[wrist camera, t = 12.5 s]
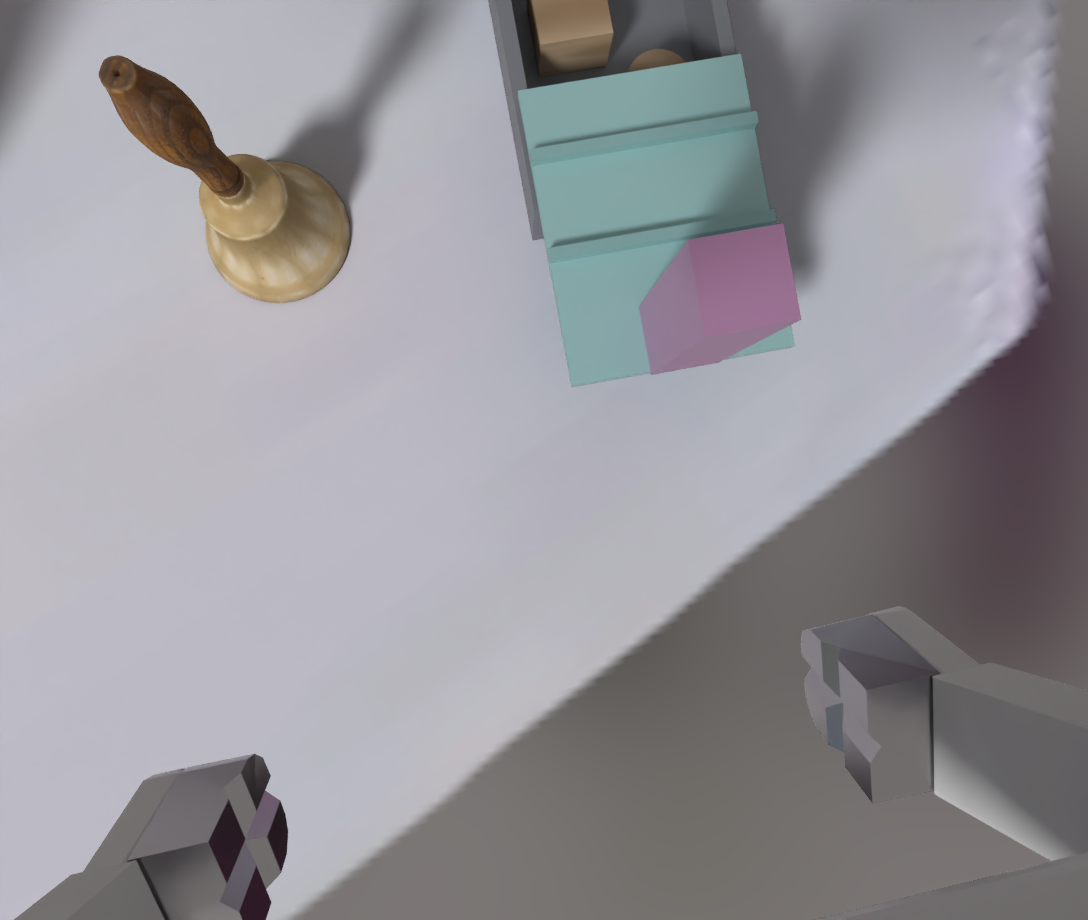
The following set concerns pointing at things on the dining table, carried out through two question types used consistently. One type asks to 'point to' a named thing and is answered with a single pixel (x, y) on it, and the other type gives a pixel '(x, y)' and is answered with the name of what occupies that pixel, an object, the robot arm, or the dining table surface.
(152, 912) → the robot arm
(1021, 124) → the dining table surface
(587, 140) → the lid
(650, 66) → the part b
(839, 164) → the dining table surface
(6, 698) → the dining table surface
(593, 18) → the part
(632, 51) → the tray
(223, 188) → the hand bell
